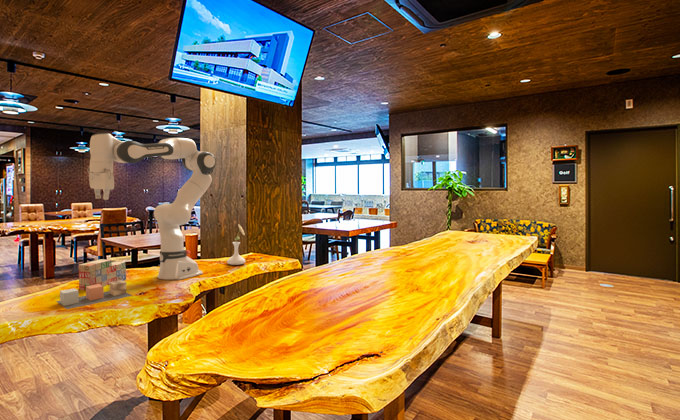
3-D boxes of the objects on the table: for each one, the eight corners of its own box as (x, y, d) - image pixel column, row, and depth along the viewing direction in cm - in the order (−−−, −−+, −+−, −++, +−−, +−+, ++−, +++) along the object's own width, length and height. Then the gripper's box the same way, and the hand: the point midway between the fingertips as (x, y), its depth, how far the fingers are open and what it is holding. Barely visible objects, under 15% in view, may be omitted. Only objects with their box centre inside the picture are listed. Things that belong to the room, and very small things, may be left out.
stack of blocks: (115, 278, 188) (115, 255, 187) (126, 279, 186) (126, 256, 185) (78, 290, 167) (78, 264, 166) (90, 291, 165) (89, 265, 165)
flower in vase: (239, 266, 221) (240, 226, 219) (223, 265, 223) (223, 225, 222) (250, 262, 233) (250, 223, 232) (234, 261, 236) (234, 223, 234)
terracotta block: (99, 295, 159) (99, 284, 158) (103, 297, 156) (103, 286, 155) (86, 297, 155) (85, 286, 155) (90, 300, 152) (89, 288, 151)
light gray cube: (74, 300, 152) (74, 288, 152) (78, 302, 149) (78, 290, 148) (60, 302, 148) (59, 290, 148) (63, 305, 145) (63, 293, 145)
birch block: (122, 290, 166) (121, 280, 165) (126, 293, 163) (126, 282, 162) (109, 293, 162) (109, 282, 162) (114, 295, 159) (113, 284, 158)
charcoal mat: (120, 290, 168) (120, 289, 168) (132, 296, 160) (132, 295, 160) (56, 302, 150) (56, 301, 150) (66, 310, 141) (66, 309, 141)
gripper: (118, 169, 160) (118, 200, 161) (101, 169, 173) (101, 198, 174) (102, 168, 156) (102, 200, 156) (86, 168, 168) (86, 198, 169)
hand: (102, 199), depth 165 cm, fingers open, 8 cm apart
